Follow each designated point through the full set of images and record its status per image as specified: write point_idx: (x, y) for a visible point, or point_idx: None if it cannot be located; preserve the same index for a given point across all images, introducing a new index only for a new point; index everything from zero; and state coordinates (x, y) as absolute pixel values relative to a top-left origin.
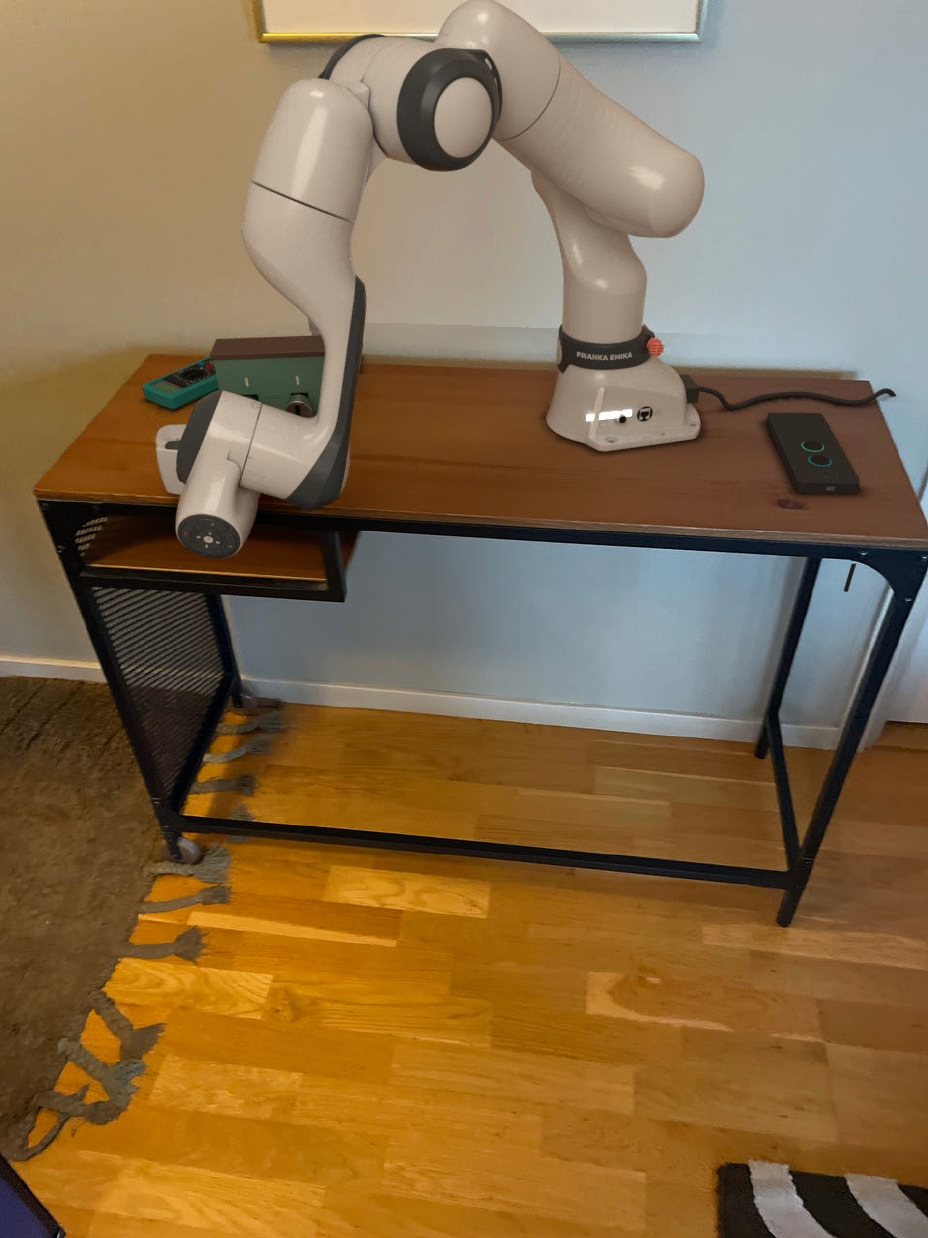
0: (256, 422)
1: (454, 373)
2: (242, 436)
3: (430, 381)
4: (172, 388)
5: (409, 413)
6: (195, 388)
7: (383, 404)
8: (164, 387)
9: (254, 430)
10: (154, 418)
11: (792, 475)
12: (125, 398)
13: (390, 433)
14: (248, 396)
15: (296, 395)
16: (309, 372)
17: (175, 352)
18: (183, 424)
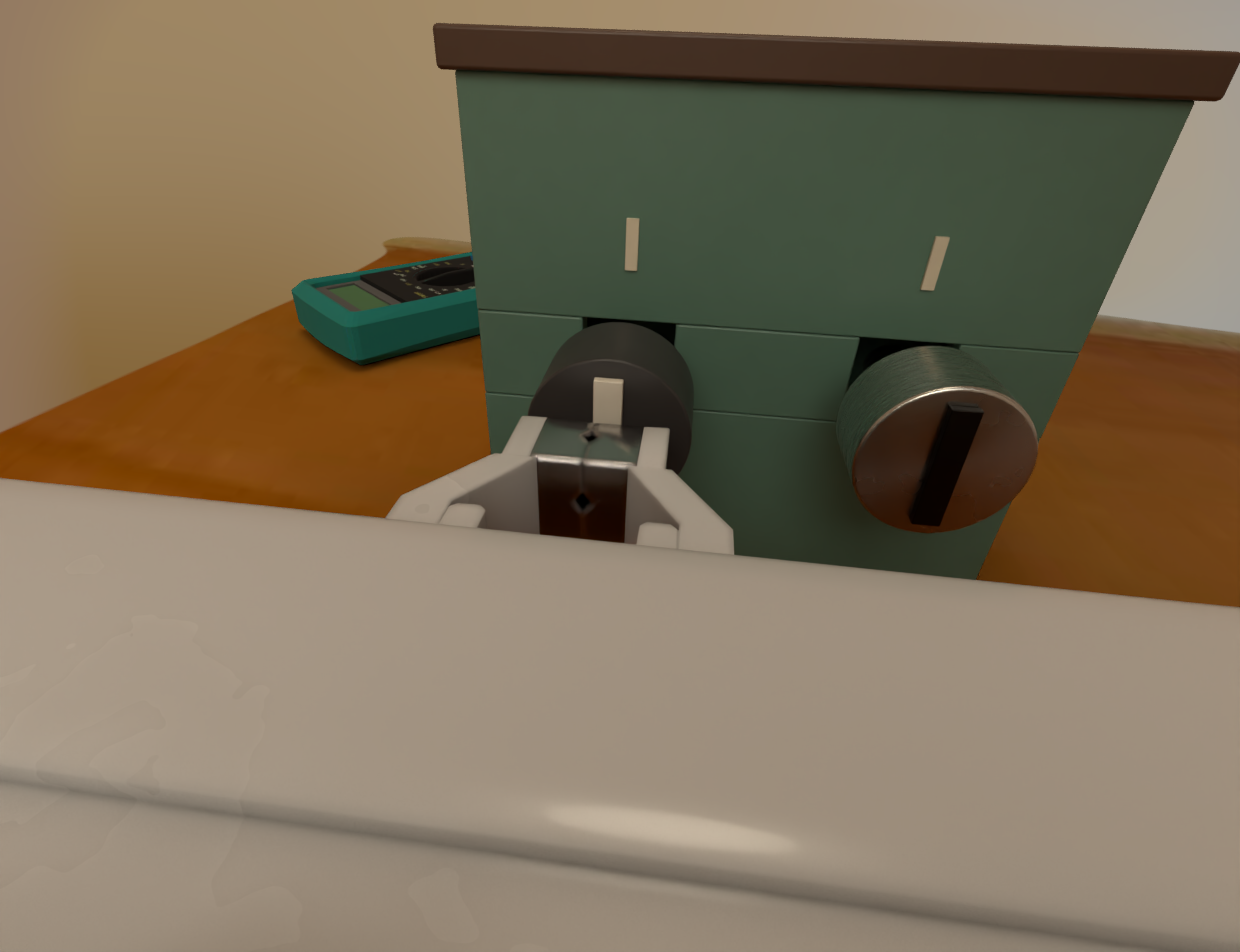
0: (742, 570)
1: (1178, 357)
2: None
3: (1130, 371)
4: (373, 302)
5: (1189, 478)
6: (438, 309)
7: (1047, 428)
8: (352, 298)
9: (755, 736)
10: (285, 384)
11: None
12: (255, 320)
13: (1216, 576)
14: (632, 324)
15: (936, 351)
16: (1030, 220)
17: (439, 247)
18: (20, 485)
